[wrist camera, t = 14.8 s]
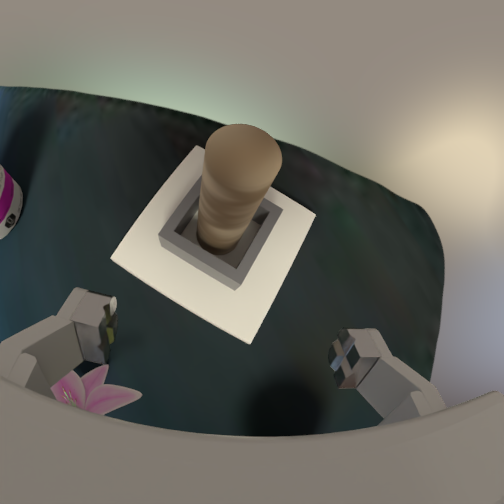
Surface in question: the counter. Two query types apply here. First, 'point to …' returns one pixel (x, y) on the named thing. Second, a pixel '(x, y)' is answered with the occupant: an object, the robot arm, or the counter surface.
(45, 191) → the counter surface
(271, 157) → the beech peg
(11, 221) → the supplement can
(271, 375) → the counter surface
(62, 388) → the lily
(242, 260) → the docking plate
